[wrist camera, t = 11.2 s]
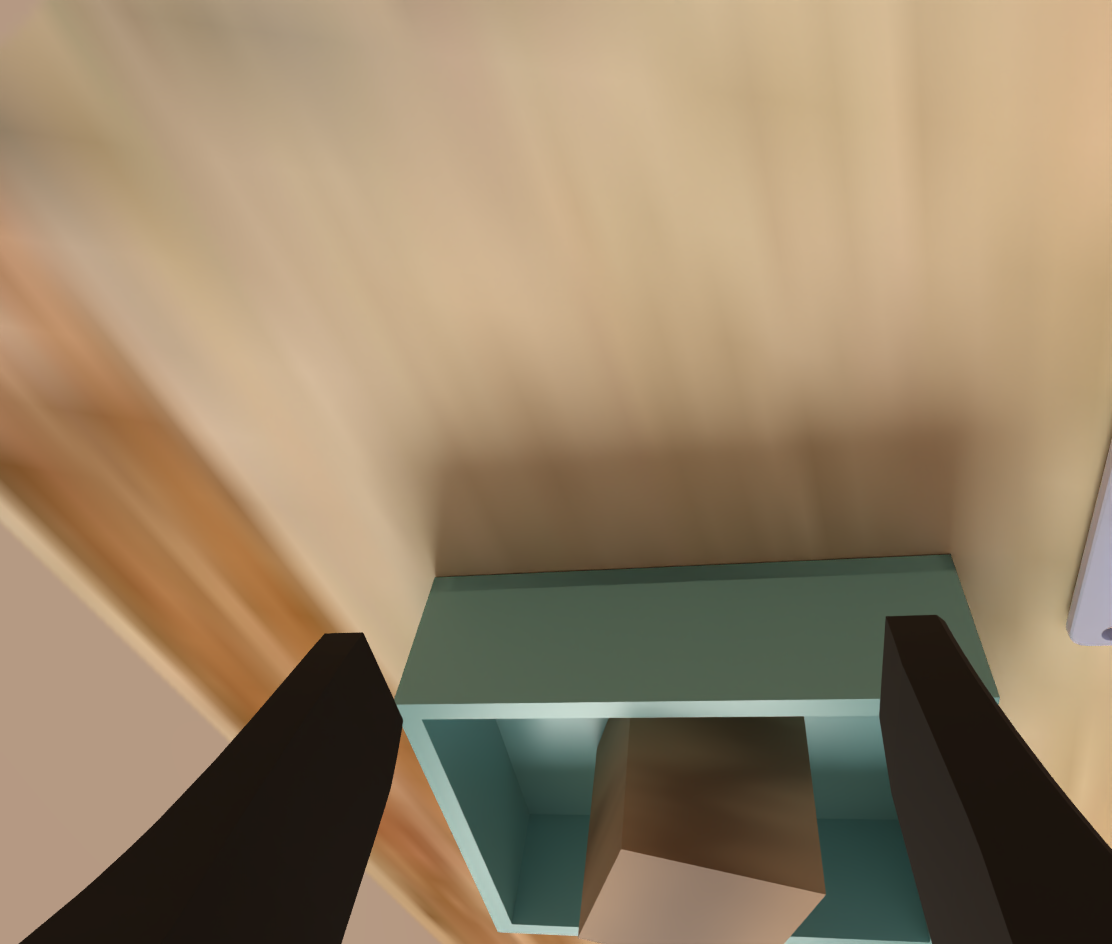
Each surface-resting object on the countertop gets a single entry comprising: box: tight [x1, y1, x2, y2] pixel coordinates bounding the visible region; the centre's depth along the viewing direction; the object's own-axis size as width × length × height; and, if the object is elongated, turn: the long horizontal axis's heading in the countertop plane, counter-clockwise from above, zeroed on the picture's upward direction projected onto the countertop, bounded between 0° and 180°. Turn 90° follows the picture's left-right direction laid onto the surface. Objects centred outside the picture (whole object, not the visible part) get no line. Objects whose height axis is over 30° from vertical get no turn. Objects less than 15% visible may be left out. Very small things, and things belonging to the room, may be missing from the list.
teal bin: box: [394, 554, 1000, 944], centre depth 25 cm, size 14×12×4 cm
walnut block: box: [578, 716, 826, 944], centre depth 24 cm, size 5×5×6 cm
